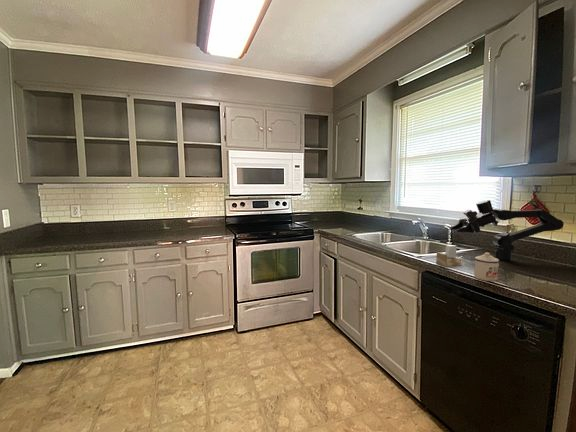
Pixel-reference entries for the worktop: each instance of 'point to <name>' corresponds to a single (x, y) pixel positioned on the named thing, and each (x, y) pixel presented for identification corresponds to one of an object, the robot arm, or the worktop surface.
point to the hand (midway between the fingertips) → (453, 229)
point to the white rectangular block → (450, 251)
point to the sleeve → (447, 260)
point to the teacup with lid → (486, 267)
